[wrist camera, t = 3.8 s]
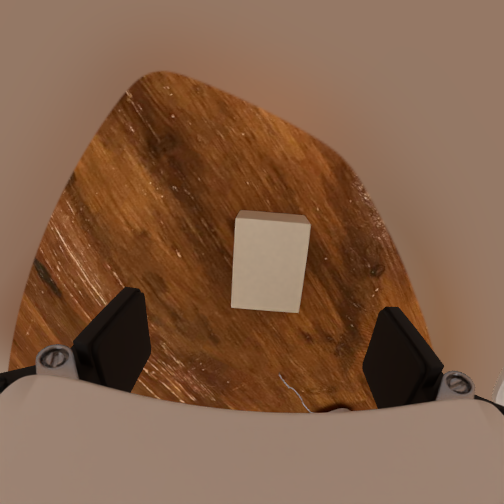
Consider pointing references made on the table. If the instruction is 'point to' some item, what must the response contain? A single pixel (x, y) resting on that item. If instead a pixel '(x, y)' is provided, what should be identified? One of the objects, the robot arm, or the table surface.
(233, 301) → the pad
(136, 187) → the table surface
